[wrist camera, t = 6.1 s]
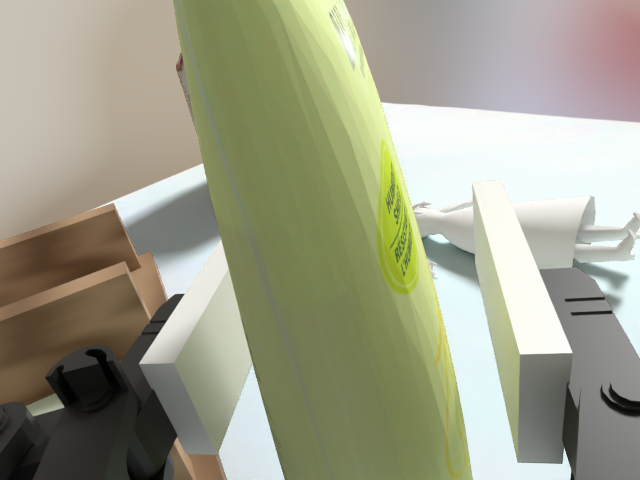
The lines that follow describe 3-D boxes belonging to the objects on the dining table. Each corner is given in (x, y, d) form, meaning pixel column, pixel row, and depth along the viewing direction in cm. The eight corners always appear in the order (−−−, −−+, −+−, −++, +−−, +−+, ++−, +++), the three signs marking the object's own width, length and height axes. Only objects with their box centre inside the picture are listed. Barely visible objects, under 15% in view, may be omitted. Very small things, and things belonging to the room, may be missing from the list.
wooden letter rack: (157, 266, 39) (126, 195, 36) (238, 515, 19) (185, 405, 16) (-1, 326, 35) (-50, 254, 32) (-103, 709, 15) (-259, 618, 12)
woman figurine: (621, 263, 21) (314, 230, 32) (618, 339, 23) (330, 283, 34) (653, 162, 29) (395, 163, 40) (648, 226, 31) (404, 210, 42)
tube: (539, 623, 14) (608, -270, 5) (427, 786, 12) (110, -336, 2) (402, 493, 18) (292, -113, 9) (299, 595, 16) (2, -82, 7)
